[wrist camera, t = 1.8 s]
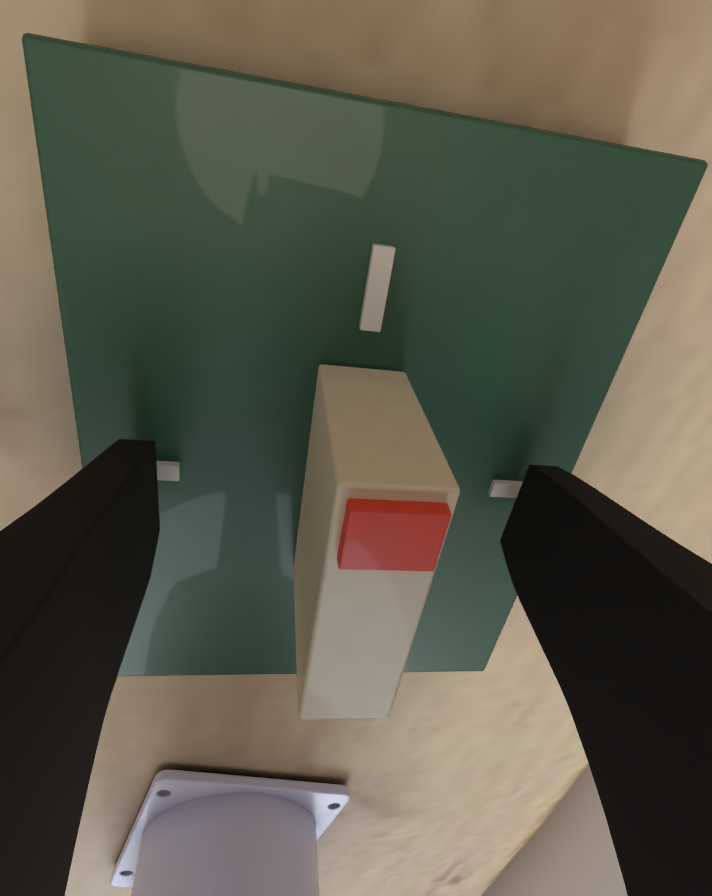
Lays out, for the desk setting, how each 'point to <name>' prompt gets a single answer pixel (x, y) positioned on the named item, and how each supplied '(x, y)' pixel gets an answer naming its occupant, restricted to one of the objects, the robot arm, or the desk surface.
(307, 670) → the red topped block
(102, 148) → the console
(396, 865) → the desk surface
